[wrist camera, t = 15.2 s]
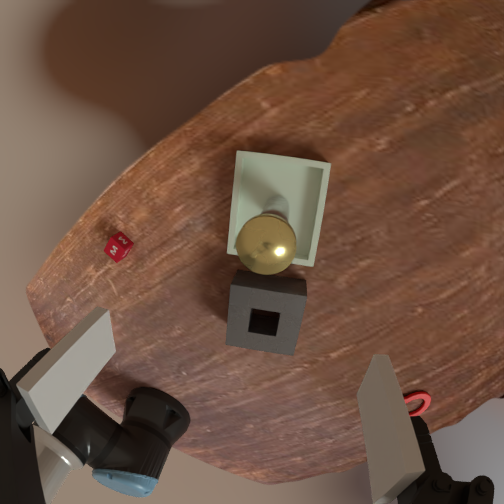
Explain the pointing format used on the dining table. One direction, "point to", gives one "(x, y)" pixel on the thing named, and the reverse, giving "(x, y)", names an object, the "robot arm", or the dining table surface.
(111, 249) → the dice
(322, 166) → the tray
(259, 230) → the pin
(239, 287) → the hitch block
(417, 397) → the tow hook
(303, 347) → the dining table surface
